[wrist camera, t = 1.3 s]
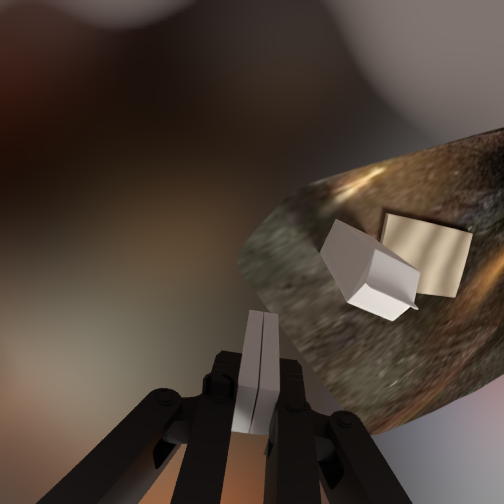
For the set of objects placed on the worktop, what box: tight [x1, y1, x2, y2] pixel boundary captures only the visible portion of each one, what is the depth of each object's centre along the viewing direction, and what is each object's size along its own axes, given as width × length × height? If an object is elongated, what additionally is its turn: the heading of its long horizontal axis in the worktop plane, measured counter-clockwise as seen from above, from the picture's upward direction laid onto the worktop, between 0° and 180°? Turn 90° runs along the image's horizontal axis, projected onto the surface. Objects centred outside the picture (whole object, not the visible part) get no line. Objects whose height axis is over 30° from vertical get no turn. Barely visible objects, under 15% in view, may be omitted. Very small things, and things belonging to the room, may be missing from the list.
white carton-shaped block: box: [320, 219, 420, 321], centre depth 35 cm, size 6×6×22 cm
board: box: [380, 213, 472, 297], centre depth 45 cm, size 18×12×1 cm, turn 82°
